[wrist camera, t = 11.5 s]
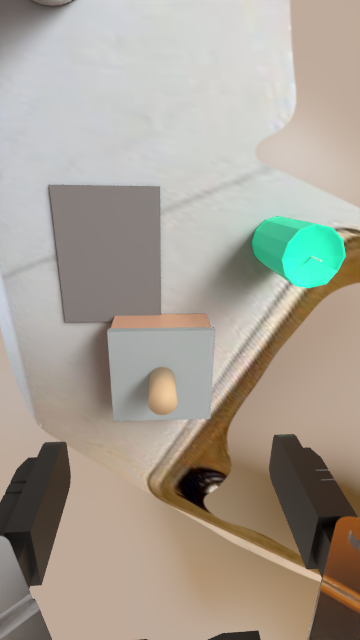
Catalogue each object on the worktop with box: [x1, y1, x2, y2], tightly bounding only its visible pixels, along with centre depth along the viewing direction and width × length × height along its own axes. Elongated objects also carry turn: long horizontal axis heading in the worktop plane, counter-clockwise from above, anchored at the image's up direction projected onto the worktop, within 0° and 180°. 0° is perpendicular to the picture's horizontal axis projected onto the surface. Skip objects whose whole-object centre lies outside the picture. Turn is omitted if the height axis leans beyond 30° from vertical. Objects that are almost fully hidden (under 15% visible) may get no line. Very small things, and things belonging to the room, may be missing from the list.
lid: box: [107, 327, 215, 422], centre depth 37 cm, size 12×12×6 cm
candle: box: [252, 216, 346, 288], centre depth 35 cm, size 6×6×12 cm
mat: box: [49, 185, 161, 322], centre depth 40 cm, size 16×12×1 cm
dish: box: [111, 314, 211, 328], centre depth 43 cm, size 12×12×5 cm
